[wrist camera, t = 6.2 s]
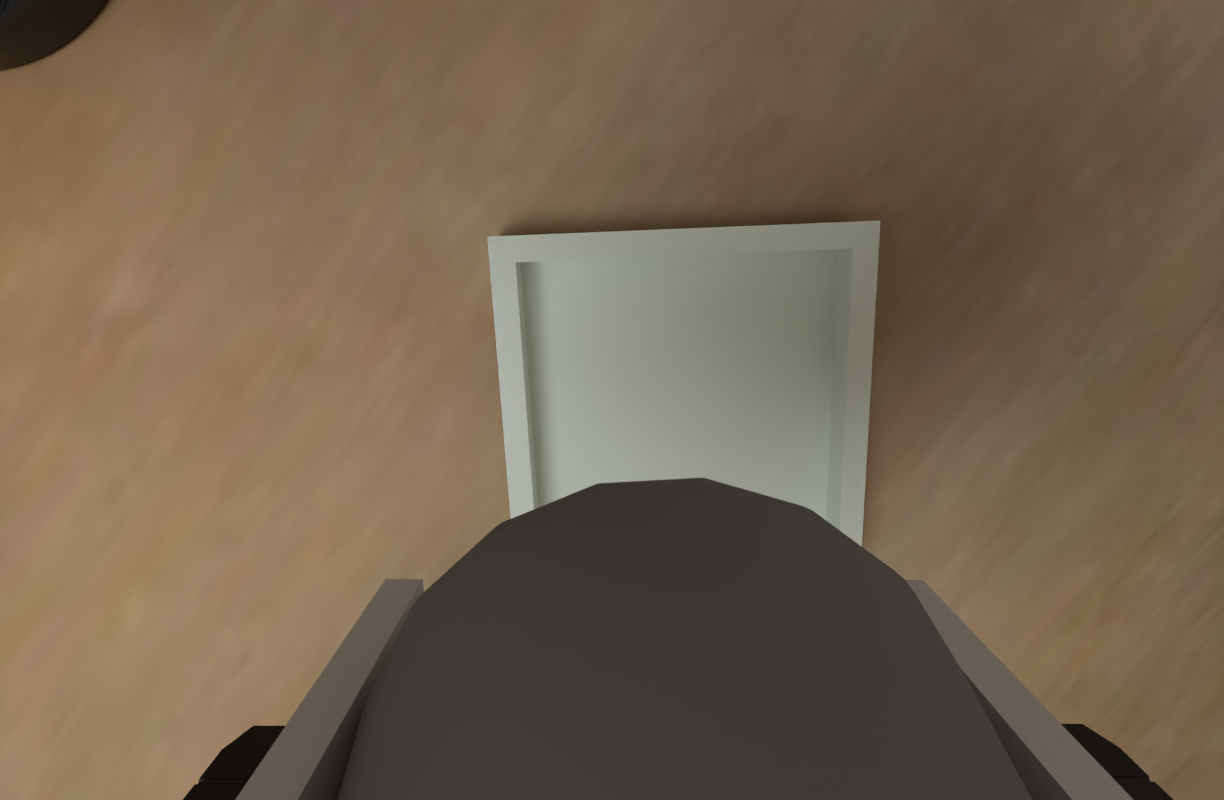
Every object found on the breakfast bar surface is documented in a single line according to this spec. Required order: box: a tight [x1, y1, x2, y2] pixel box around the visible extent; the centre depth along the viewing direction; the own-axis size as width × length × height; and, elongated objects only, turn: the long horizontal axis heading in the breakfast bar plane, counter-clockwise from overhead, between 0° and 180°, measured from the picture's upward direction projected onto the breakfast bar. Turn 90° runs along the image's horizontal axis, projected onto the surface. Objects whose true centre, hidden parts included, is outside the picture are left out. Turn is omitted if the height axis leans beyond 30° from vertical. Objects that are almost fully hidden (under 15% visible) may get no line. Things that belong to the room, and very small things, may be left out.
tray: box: [487, 221, 880, 547], centre depth 28 cm, size 15×15×2 cm
